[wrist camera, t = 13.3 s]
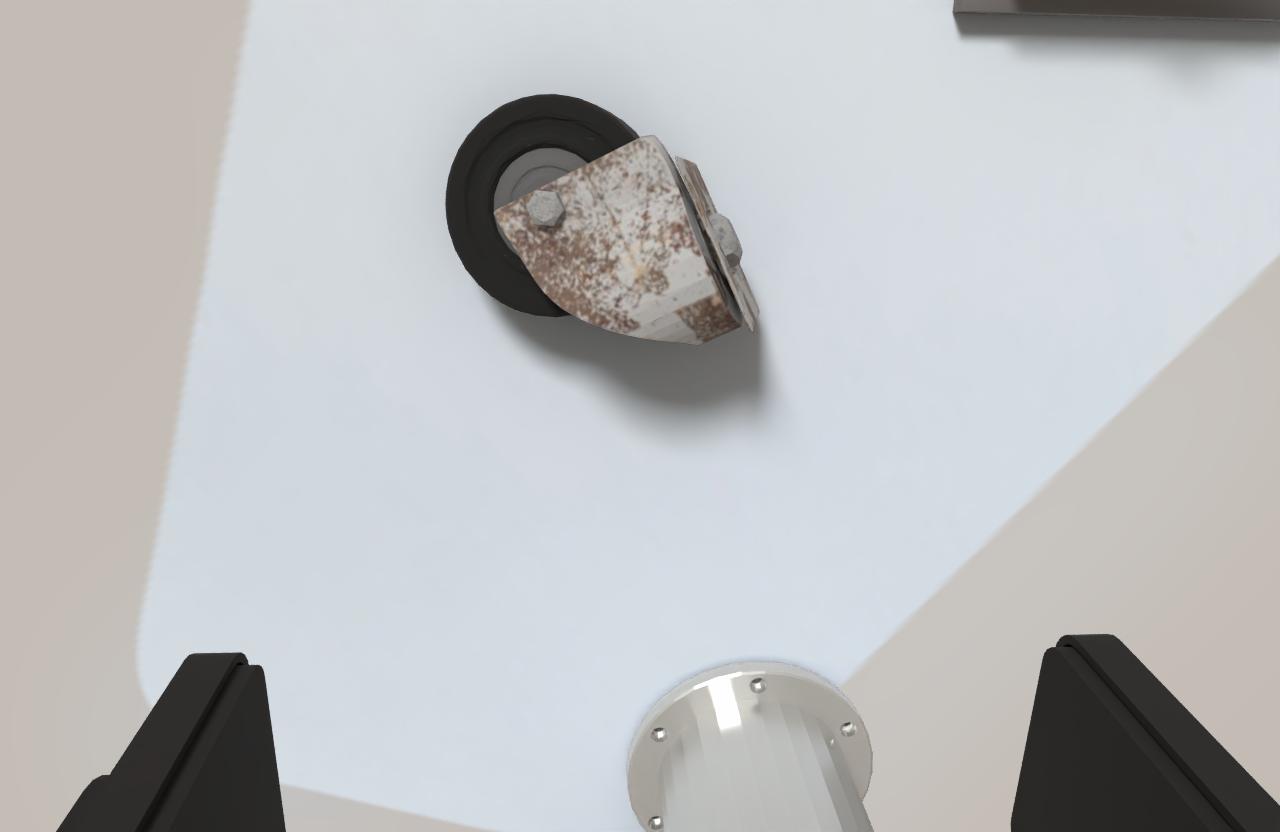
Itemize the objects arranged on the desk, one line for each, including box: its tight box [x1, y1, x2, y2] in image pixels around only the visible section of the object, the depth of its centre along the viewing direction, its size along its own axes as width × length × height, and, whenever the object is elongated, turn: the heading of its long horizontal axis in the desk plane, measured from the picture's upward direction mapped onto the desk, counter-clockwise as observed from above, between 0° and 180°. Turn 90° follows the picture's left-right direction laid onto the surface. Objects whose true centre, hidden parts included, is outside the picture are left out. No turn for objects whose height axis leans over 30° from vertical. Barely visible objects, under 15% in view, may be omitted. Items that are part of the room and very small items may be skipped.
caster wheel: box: [446, 94, 759, 345], centre depth 37 cm, size 7×11×10 cm
